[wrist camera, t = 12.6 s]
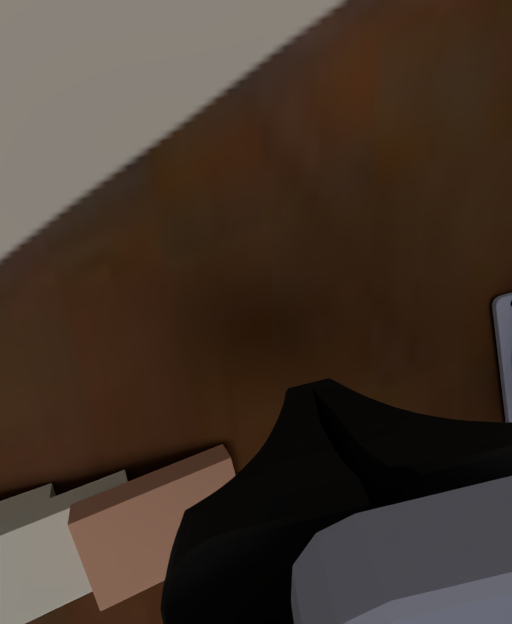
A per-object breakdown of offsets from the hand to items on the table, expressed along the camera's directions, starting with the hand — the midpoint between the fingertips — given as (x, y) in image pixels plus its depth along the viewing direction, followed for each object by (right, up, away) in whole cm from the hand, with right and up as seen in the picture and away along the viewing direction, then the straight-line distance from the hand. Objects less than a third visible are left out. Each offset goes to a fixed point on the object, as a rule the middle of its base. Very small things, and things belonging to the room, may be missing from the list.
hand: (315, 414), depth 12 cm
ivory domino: (-8, -8, +10) cm, 16 cm away
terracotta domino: (-3, -7, +10) cm, 13 cm away
